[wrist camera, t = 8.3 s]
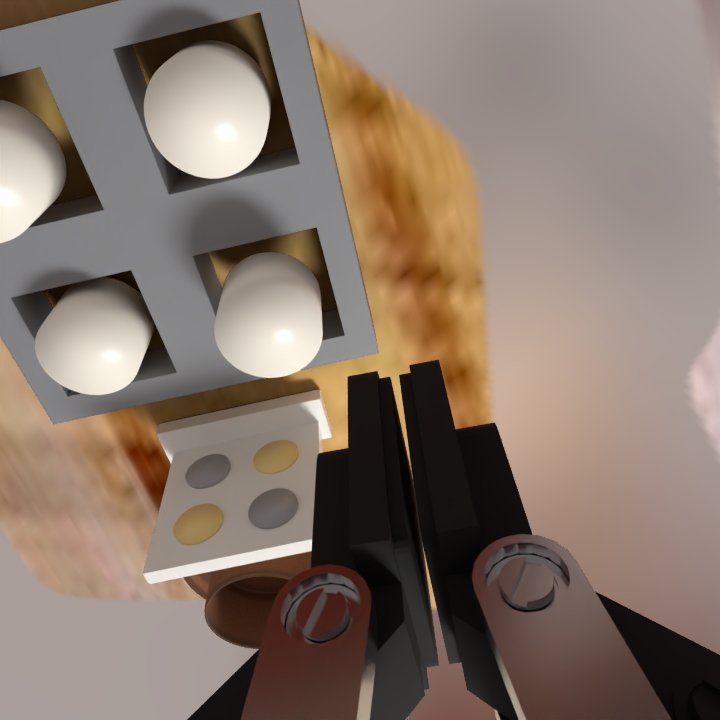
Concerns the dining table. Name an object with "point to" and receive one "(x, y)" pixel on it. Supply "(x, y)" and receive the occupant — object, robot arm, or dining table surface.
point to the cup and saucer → (245, 596)
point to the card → (238, 486)
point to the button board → (169, 201)
